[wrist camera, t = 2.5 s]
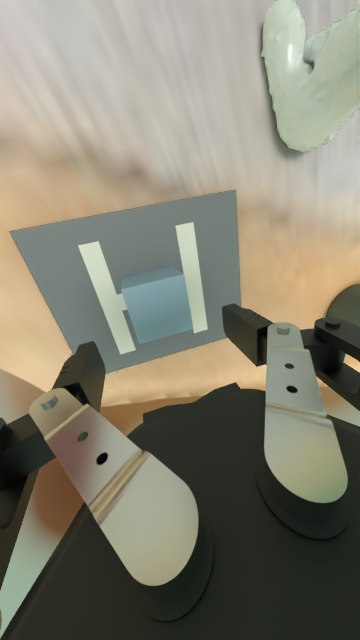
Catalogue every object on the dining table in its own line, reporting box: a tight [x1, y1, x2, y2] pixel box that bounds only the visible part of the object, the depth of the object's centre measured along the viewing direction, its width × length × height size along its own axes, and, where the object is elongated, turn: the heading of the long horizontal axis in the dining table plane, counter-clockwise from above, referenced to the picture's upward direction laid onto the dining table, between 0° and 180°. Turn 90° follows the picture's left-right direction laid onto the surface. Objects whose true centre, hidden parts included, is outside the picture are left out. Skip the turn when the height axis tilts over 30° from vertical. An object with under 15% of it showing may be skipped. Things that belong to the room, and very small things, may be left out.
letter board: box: [9, 190, 241, 374], centre depth 21 cm, size 20×16×1 cm
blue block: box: [121, 265, 193, 344], centre depth 18 cm, size 5×5×5 cm
